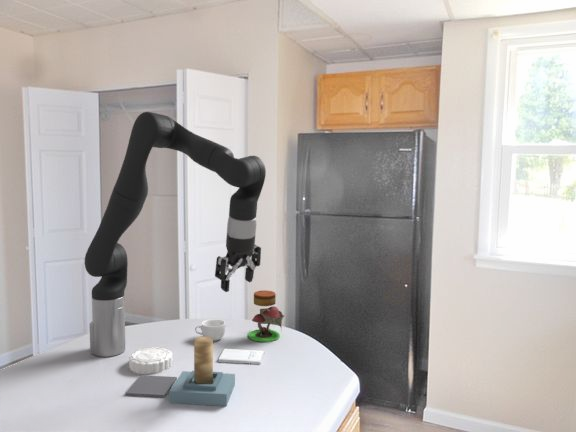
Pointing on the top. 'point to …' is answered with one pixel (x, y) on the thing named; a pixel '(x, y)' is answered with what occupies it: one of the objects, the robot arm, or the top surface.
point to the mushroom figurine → (266, 317)
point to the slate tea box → (202, 390)
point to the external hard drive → (241, 356)
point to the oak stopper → (203, 360)
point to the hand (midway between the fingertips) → (237, 285)
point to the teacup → (212, 329)
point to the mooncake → (150, 360)
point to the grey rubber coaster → (151, 386)
